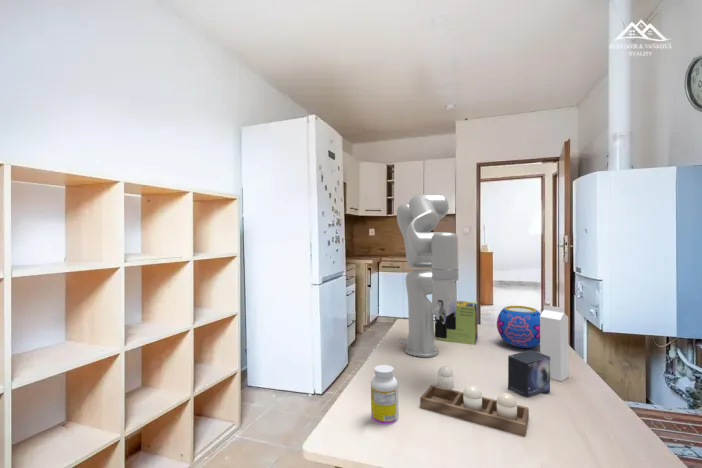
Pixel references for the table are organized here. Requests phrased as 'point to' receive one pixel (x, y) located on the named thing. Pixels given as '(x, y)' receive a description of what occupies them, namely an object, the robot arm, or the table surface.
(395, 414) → the supplement bottle
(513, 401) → the egg far
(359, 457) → the table surface
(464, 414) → the crate
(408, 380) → the table surface
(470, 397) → the egg middle
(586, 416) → the table surface
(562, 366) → the milk
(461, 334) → the protein box
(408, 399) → the table surface
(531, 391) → the small box
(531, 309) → the ceramic pot
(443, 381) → the white rounded cylinder
